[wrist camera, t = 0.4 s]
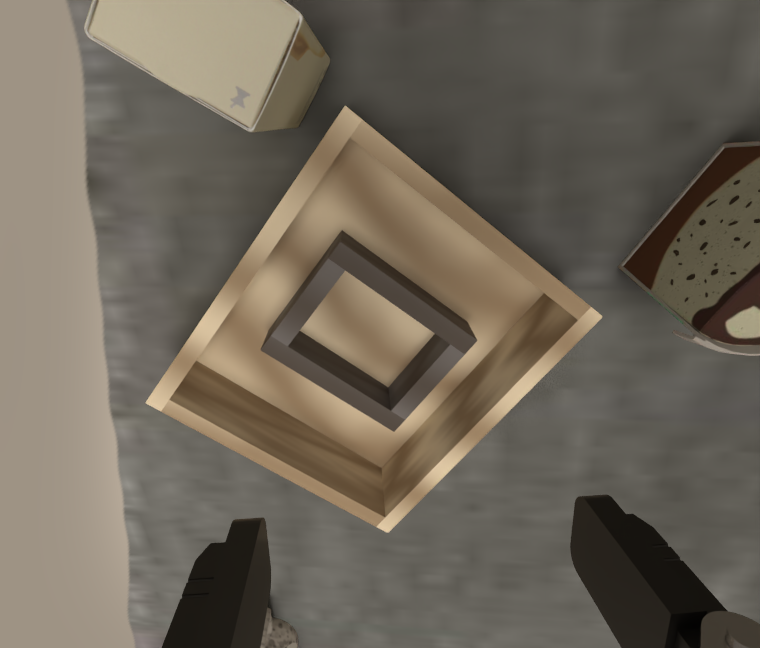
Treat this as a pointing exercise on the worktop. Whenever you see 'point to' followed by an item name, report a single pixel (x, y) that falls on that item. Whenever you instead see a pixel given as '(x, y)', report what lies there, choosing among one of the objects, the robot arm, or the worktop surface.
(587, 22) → the worktop surface
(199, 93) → the skincare box
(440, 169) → the worktop surface
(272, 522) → the worktop surface
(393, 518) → the walled box
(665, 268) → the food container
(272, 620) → the mug
